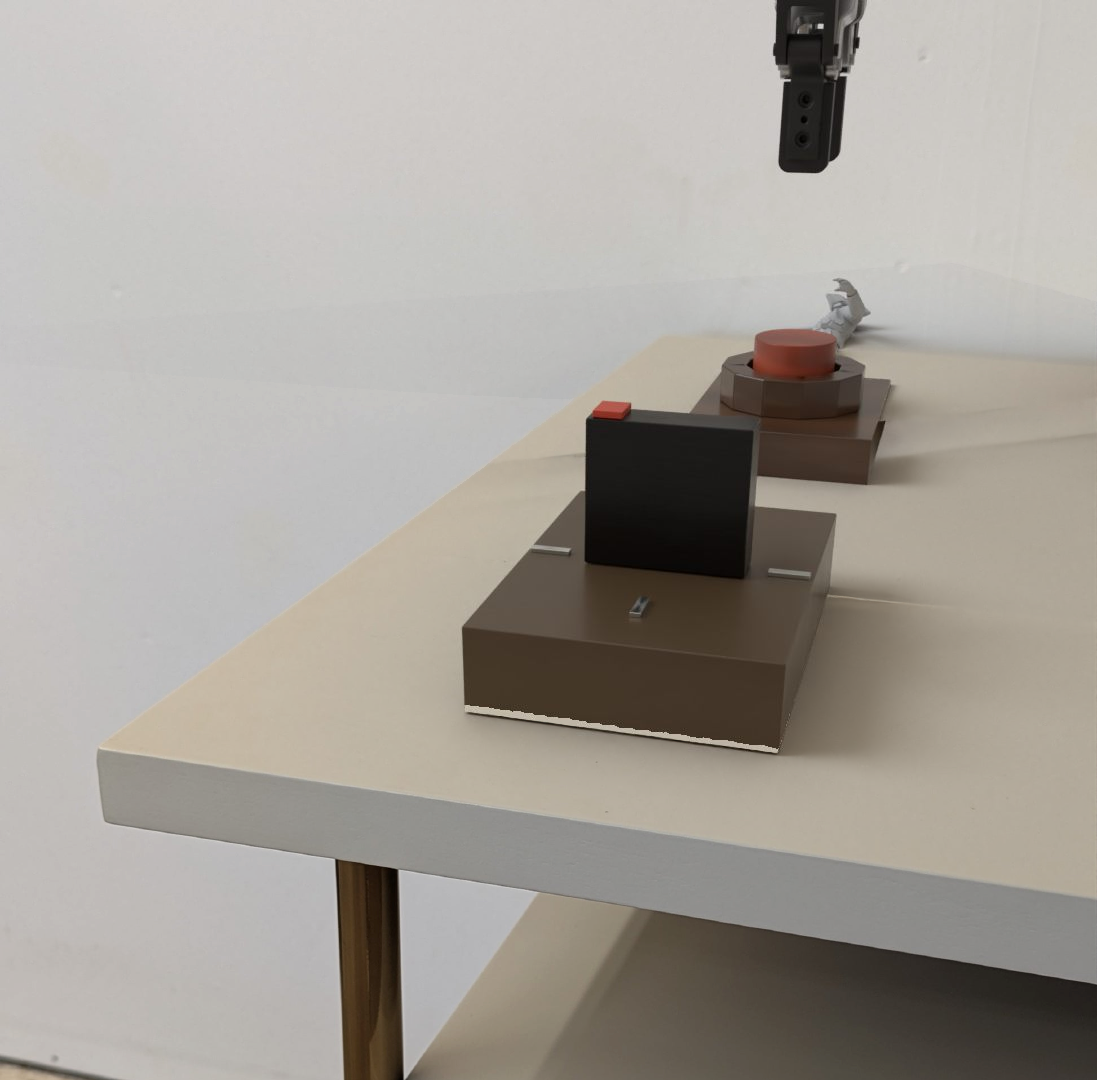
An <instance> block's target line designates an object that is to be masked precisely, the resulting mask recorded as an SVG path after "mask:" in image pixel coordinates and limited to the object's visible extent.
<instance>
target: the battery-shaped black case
mask: <svg viewBox="0 0 1097 1080" xmlns="http://www.w3.org/2000/svg"><path fill="white" fill-rule="evenodd" d="M760 426H761V420H760V419H759V418H748V417H734V416H721V415H707V414H693V413H690V412H677V411H663V410H651V409H638V408H637V409H636V408H632V402H629V401H614V400H602V401H600V403H598V404H597V405H596V406H595V407H594V408H593V409H592V412H591V413H590V414H589V415H588V416H587V417H586V418H585V448H584V449H585V455H584V457H585V459H584V460H585V461H584V462H585V463H584V491H585V541H584V561H585V562H588V563H597V564H607V565H617V566H627V567H637V568H647V569H656V570H666V571H676V572H686V573H696V574H706V575H716V576H725V577H735V578H744V576H745V574H746V572H747V569H748V567H749V565H750V563H751V556H752V541H753V527H754V513H755V506H756V496H757V484H758V483H757V481H758V476H757V469H758V455H759V440H760Z"/></svg>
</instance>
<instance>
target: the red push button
mask: <svg viewBox="0 0 1097 1080" xmlns="http://www.w3.org/2000/svg"><path fill="white" fill-rule="evenodd" d="M753 344H754V345H753V351H754V357H753V370H754V371H758V372H763V373H768V374H772V375H786V376H815V375H826V374H829V373H833V372H834V368H835V357H836V355H837V352H836V346H837V338H836V337H835V336H833V335H832V333H831V334H828V333H825V332H820V331H814V330H813V329H803V328H776V329H768V330H764V331H761V332H758V333H756V334H755V337H754V343H753Z"/></svg>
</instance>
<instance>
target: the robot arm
mask: <svg viewBox="0 0 1097 1080" xmlns="http://www.w3.org/2000/svg"><path fill="white" fill-rule="evenodd" d="M867 5H868V0H774V9H775V16H776V17H775V41H774V43H773V45H772V46H773V47H772V57H774V62H775V63H774V64H775V66H777V71H779V79H780V80H786V81H784V82H783V85H782V99H781V100H782V101H781V113H780V114H781V115H780V130H779V145H778V157H777V158H778V159H777V162H778V166H779V168H780V170H781V171H783V172H784V173H790V174H820V173H822V172H823V171H824V170H825V169H827V168H828V166H829V164H830V163H831V162H834V161H835V160H836V159H837V158H838V157H839V156H840V153H841V150H842V140H843V128H844V127H843V126H844V116H845V105H846V93H847V83H848V82H847V81H848V75H846V74H849V75H850V74H851V70H852V66H855V61H856V60H855V59H856V54H857V50H859V49H860V43H861V36H859V30H860V23H861V20H862V19H863V18H864V14H865V11H866V9H867ZM819 25H823V28H819ZM841 74H842V75H841ZM843 74H844V75H843ZM788 80H790V81H788Z"/></svg>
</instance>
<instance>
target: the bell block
mask: <svg viewBox="0 0 1097 1080" xmlns="http://www.w3.org/2000/svg"><path fill="white" fill-rule="evenodd" d="M753 357H754V350H752V351H747V352H742V353H739V354H735V355H730V356H728V357H727V358H726V359H725V360H724V361H723V363H722V364H721V368H720V369H721V370H720V372H719V374H718V375H717V376H716V377H715V379H714V380H713V381H712V383H710V385H709V386H708V388H707V389H706V391H705V392H704V393H703V394H702V396H701V397H700V398H699V399H698V401H697V402H696V403H695V405H694V406H693V407H692V408H691V410H690V411H689V413H693V414H707V415H721V416H734V417H748V418H759V419H760V420H761V426H760V440H759V455H758V469H757V477H763V478H775V479H789V480H797V481H798V480H800V481H810V482H822V483H823V482H824V483H835V484H846V485H847V484H848V485H857V486H858V485H860V486H867V485H868V484H869V480H870V477H871V474H872V470H873V466H874V463H875V461H876V457H877V453H878V449H879V446H880V443H881V440H882V436H883V432H884V429H885V425H886V422H887V420H881V418H882V417H881V416H882V414H883V410H884V408H885V404H886V401H887V397H888V394H889V392H890V388H891V382H892V380H891V379H888V378H887V379H886V378H874V377H873V378H872V377H866V364H863V363H861V362H860V361H857V360H855V359H854V358H852V357H850V356H845V355H840V354H836V357H835V368H834V372H833V373H829V374H826V375H815V376H786V375H772V374H768V373H763V372H758V371H754V370H753Z"/></svg>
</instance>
